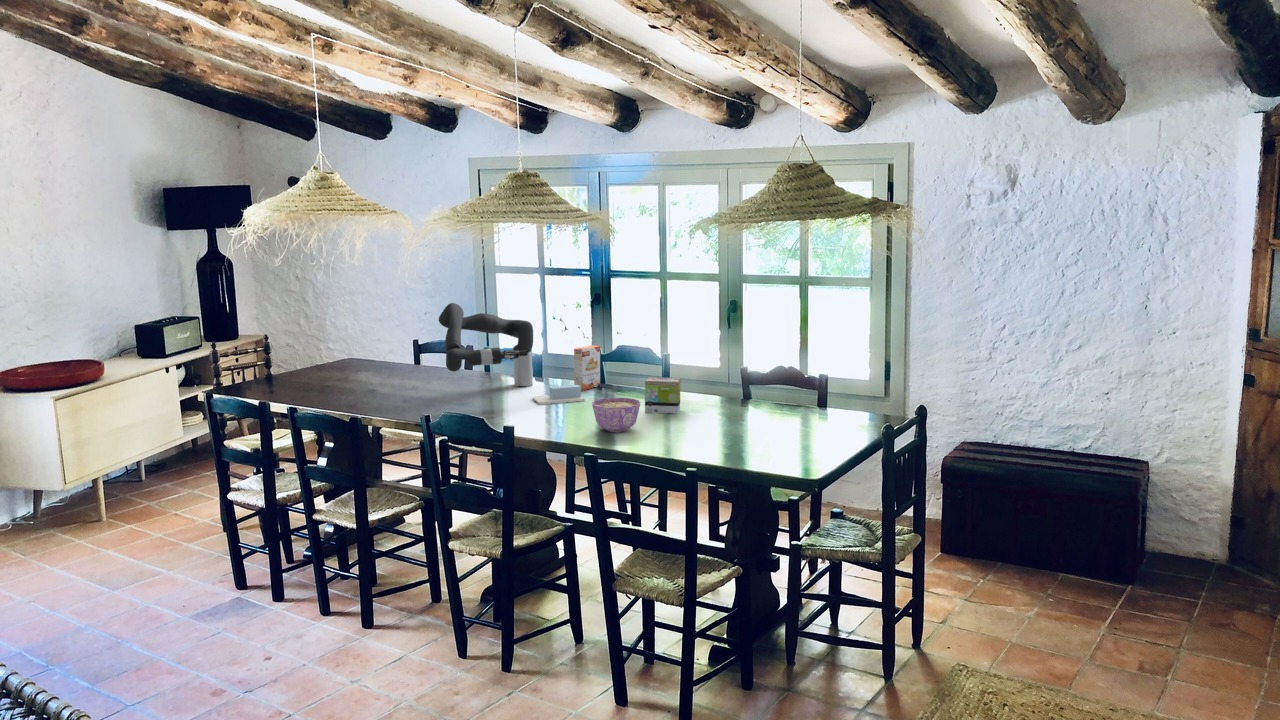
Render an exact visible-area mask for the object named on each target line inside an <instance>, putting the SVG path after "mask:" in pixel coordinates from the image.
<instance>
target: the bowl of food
mask: <svg viewBox="0 0 1280 720" xmlns="http://www.w3.org/2000/svg"><path fill="white" fill-rule="evenodd" d="M591 405H592V408H593V409H592V410H593V413H594V414H593V415H594V417H595V421H596V423H597V425H599V427H600V428H602V429H603V430H606V431H607V432H609V431H610V433H622V432H623V431H624V432H626V431H627V430H629V429H630V428H633V426H635V424H636V423H637V419H638V417H639V411H640V407H641V401H640V400H639V399H636V398H631V397H630V398H629V397H606V398H605V397H603V398H599V399H597V400H593V401H592V402H591Z"/></svg>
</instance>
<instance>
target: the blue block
mask: <svg viewBox="0 0 1280 720" xmlns="http://www.w3.org/2000/svg"><path fill="white" fill-rule="evenodd" d="M548 388H549V389H548V390H549V391H548V393H549V396H550V398H551V399H563V398H575V397H581V396H582V391H581V386H579V385H574V384H573V385H560V386H559V385H558V386H557V385H556V386H549V387H548Z"/></svg>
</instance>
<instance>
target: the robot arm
mask: <svg viewBox="0 0 1280 720" xmlns="http://www.w3.org/2000/svg"><path fill="white" fill-rule="evenodd" d="M438 322H439V324H440V325H441V326H443V327H444V328H446V329H447V332H446V333H445V334H446V335H445V343H444V345H445V352H446V354H445V355H446V356H445V366H446V368H447V369H448V371H450V372H457V371H459V370H460V369H461V368H462V365H463V361H466V362H467V365H468V366H470V367H471V366H472V367H475V366H488V365H489V366H490V365H492V366H493V365H499V364H502V361H503V360H506V361H507V360H509V361H510V360H513V380H514V381H513V386H515V387H518V386H527V387H531V386H533V384H534V383H533V381H534V380H533V352H532V350H533V347H534V327H533V325H532V323H531V322H530V321H527V320H524V319H523V320H522V319H506V318H502V317H500V316H498V315H494V314H489V313H486V312H485V313H481V312H480V313H475V314H473V315H472V314H471V315H469V316H466V317H465V316H464V310H463V308H462V307H461V306H460V305H459V304H457V303H455V302H450V303H448V304H447V305H446V306H445V307H444V309H443V310H442V312H441V313H440V315H439V316H438ZM462 330H465V331H467V330H468V331H475V332H480V333H485V334H494V335H495V334H503V335H507V336H510V337H514V338H515V339H517V344H516V345H514V346H513V348H512V349H503V351H501V348H500V347H489V348H482V349H474V350H468V349H463V348H462V339H461V335H462Z"/></svg>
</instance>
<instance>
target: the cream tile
mask: <svg viewBox="0 0 1280 720" xmlns="http://www.w3.org/2000/svg"><path fill="white" fill-rule="evenodd" d="M531 399H533V400H532V401H534V402H535V401H536V402H537V403H538V404H537V403H536V402H535V403H536V404H537V405H539V404H544V405H552V404H551V403H556V404H566V402H568V403H577V402H576V401H579V402H586V401H585V399H586V398H585V397H583V396H582V395H581V397H575V398H563V399H551V398H550V395H541V396H532V397H531Z"/></svg>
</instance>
